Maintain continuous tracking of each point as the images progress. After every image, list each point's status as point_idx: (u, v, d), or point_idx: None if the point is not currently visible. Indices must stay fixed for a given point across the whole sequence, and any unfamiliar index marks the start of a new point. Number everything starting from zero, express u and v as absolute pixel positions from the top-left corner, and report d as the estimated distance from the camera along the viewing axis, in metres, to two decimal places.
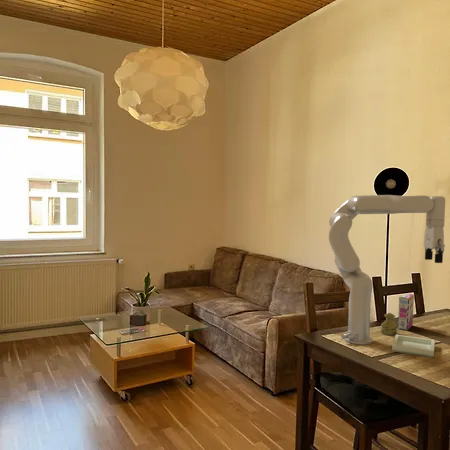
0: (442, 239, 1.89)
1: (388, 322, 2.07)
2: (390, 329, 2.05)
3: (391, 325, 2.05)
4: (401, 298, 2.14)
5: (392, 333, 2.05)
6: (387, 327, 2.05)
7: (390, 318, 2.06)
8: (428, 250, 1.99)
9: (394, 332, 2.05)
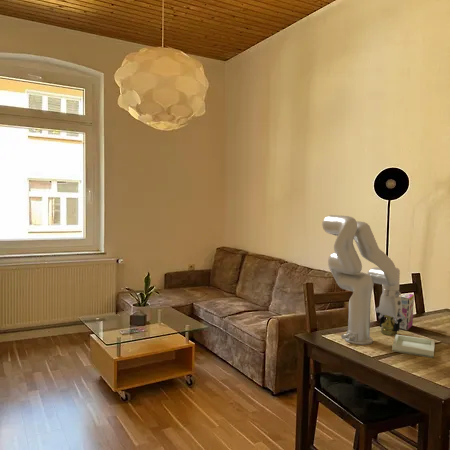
0: None
1: (388, 322, 2.07)
2: (390, 329, 2.05)
3: (391, 325, 2.05)
4: (401, 298, 2.14)
5: (392, 333, 2.05)
6: (387, 327, 2.05)
7: (390, 318, 2.06)
8: None
9: (394, 332, 2.05)
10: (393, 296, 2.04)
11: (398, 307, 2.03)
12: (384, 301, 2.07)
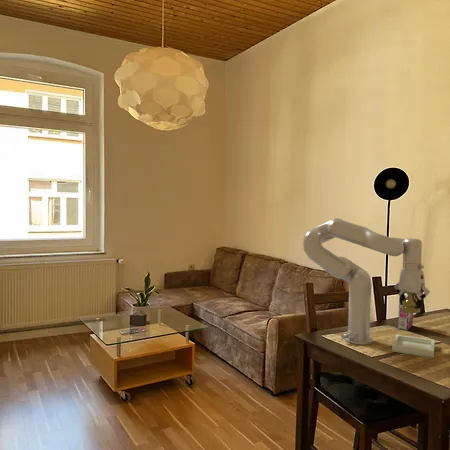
0: None
1: (410, 299, 1.89)
2: (413, 306, 1.87)
3: (414, 302, 1.87)
4: None
5: (415, 310, 1.87)
6: (409, 304, 1.87)
7: (412, 294, 1.88)
8: None
9: (417, 309, 1.87)
10: (415, 270, 1.86)
11: (421, 282, 1.85)
12: (405, 276, 1.89)
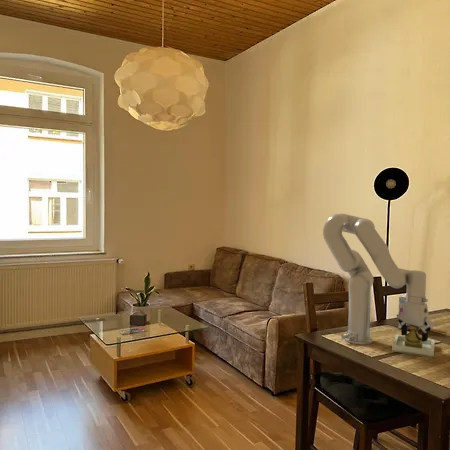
0: None
1: (412, 334, 1.86)
2: (415, 342, 1.84)
3: (416, 337, 1.85)
4: (401, 298, 2.14)
5: (417, 346, 1.84)
6: (411, 340, 1.85)
7: (415, 330, 1.85)
8: None
9: (419, 345, 1.84)
10: (419, 303, 1.83)
11: (424, 315, 1.82)
12: (409, 309, 1.86)
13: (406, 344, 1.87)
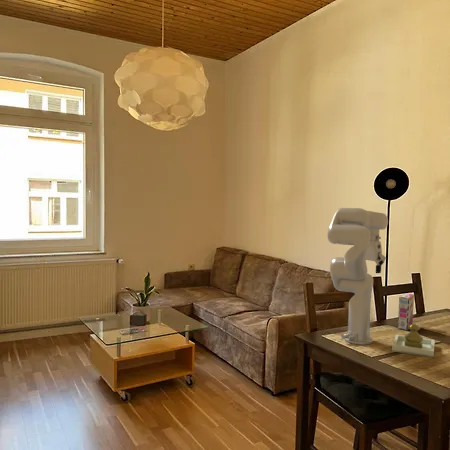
0: None
1: (412, 334, 1.86)
2: (415, 342, 1.84)
3: (416, 338, 1.85)
4: (401, 298, 2.14)
5: (417, 346, 1.84)
6: (411, 340, 1.85)
7: (415, 330, 1.85)
8: None
9: (419, 345, 1.84)
10: (373, 240, 2.13)
11: (378, 251, 2.13)
12: None
13: (406, 344, 1.87)
